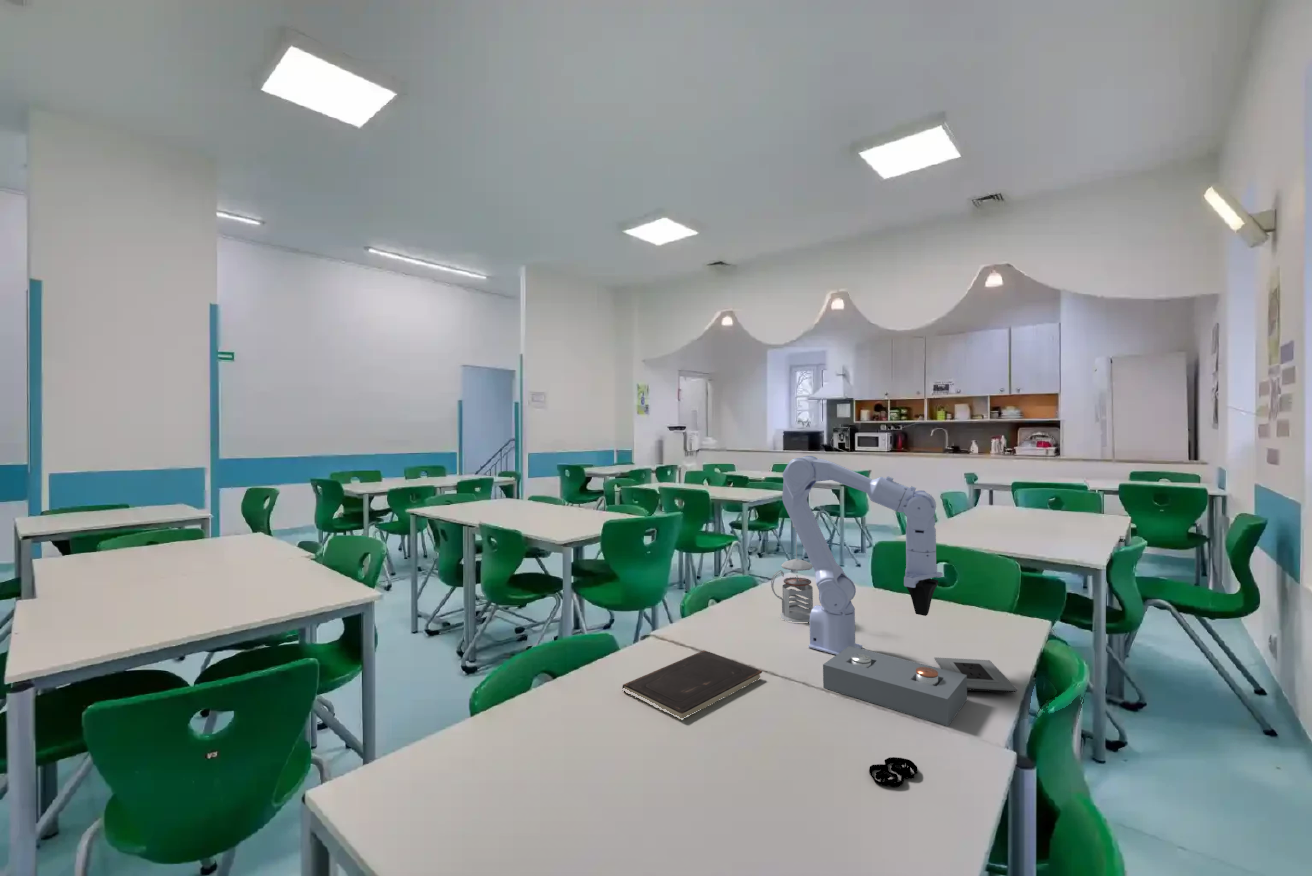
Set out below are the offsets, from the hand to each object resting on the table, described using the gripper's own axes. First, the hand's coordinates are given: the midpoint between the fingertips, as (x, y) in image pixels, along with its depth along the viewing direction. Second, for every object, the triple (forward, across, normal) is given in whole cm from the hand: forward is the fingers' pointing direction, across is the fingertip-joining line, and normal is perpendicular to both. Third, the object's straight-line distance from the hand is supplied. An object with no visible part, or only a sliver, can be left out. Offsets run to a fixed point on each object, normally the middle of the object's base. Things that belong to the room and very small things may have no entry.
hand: (921, 614), depth 119 cm
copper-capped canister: (+9, -18, -6) cm, 21 cm away
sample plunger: (+10, -18, +6) cm, 21 cm away
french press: (+11, +9, +35) cm, 37 cm away
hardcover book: (+11, -39, +30) cm, 51 cm away
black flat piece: (+11, -43, -10) cm, 45 cm away
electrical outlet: (+11, -2, -10) cm, 15 cm away
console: (+10, -18, 0) cm, 20 cm away
